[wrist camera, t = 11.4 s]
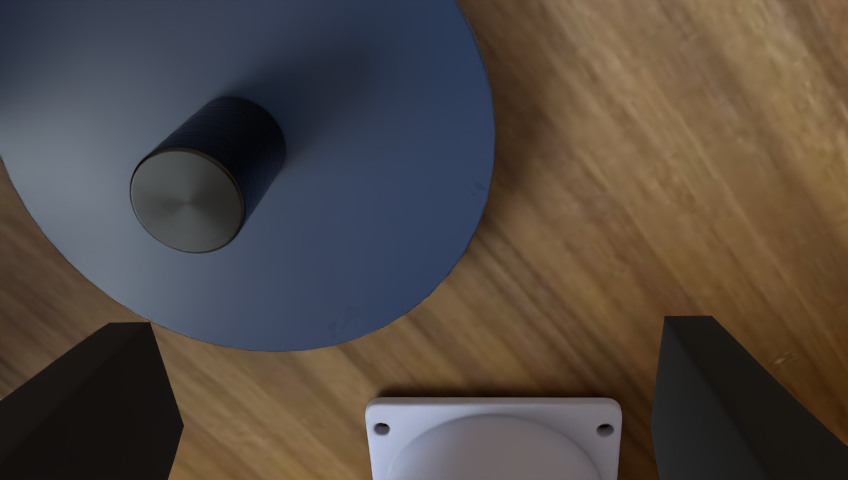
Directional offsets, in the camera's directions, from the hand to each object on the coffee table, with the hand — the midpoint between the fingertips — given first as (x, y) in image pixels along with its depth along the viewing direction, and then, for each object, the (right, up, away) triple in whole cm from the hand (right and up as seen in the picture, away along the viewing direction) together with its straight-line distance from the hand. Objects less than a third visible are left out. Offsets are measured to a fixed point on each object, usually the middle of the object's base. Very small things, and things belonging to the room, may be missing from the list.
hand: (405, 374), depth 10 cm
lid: (-4, +4, +8) cm, 10 cm away
